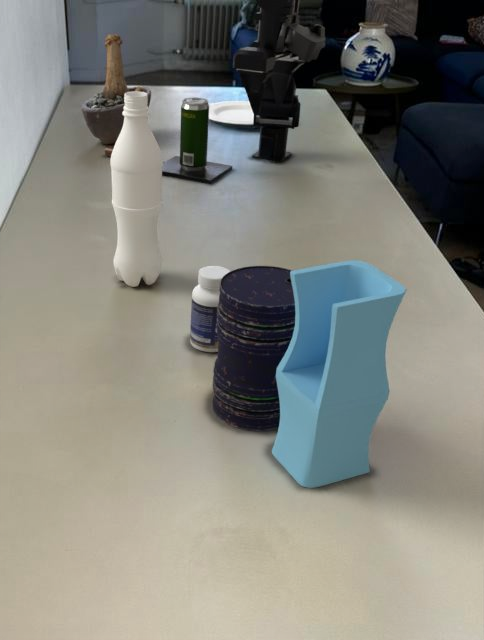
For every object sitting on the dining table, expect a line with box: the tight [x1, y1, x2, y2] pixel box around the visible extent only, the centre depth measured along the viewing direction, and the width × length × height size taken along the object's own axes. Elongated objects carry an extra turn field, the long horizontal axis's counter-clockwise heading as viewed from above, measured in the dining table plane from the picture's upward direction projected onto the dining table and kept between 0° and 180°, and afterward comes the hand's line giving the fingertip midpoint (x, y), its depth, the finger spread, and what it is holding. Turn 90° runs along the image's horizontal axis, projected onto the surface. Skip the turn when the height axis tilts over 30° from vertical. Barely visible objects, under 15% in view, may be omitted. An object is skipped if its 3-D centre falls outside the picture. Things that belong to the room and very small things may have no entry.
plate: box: [208, 100, 261, 129], centre depth 180 cm, size 21×21×2 cm
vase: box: [271, 259, 407, 489], centre depth 74 cm, size 8×8×20 cm
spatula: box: [104, 145, 233, 185], centre depth 154 cm, size 26×10×2 cm, turn 61°
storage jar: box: [211, 265, 296, 432], centre depth 83 cm, size 10×10×15 cm
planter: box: [81, 33, 152, 146], centre depth 161 cm, size 15×17×20 cm
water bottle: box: [109, 91, 164, 288], centre depth 106 cm, size 7×7×25 cm
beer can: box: [179, 96, 210, 171], centre depth 148 cm, size 5×5×12 cm
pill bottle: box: [189, 265, 231, 353], centre depth 96 cm, size 5×5×10 cm
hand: (267, 109), depth 137 cm, fingers open, 9 cm apart
